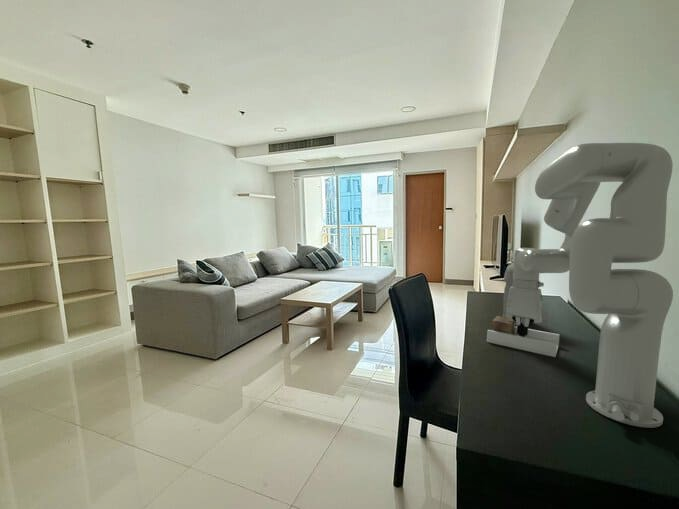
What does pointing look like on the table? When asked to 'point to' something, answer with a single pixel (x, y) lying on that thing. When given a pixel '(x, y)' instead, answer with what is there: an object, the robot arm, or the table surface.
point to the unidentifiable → (509, 282)
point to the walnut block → (503, 325)
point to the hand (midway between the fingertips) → (522, 336)
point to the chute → (527, 341)
